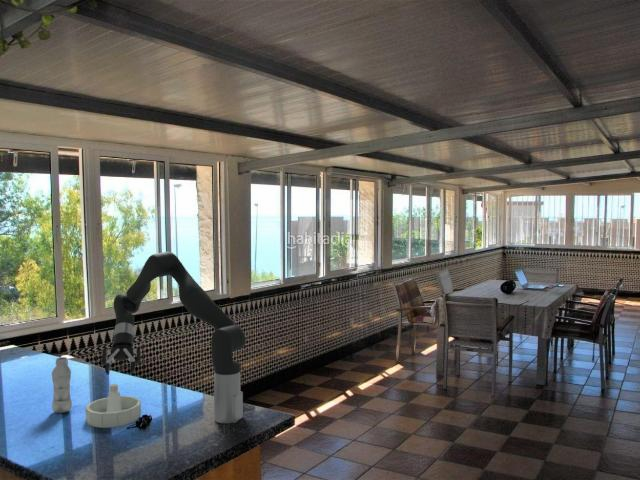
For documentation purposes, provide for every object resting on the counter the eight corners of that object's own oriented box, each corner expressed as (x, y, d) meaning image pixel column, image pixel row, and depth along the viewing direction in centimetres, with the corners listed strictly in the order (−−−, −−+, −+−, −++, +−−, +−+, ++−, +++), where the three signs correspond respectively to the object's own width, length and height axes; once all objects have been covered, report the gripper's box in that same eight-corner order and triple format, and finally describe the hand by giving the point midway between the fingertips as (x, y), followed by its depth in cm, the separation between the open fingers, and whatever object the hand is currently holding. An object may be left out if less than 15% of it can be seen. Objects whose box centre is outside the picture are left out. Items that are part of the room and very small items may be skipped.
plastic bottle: (64, 416, 193) (63, 361, 192) (47, 414, 195) (47, 360, 194) (75, 409, 199) (75, 356, 199) (59, 408, 201) (59, 355, 200)
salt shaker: (125, 413, 193) (125, 383, 192) (113, 418, 188) (113, 388, 188) (114, 411, 195) (114, 381, 195) (102, 416, 190) (102, 385, 190)
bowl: (150, 412, 197) (150, 399, 197) (118, 430, 180) (118, 416, 180) (109, 407, 203) (109, 394, 203) (74, 424, 186) (74, 410, 185)
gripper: (103, 332, 209) (98, 369, 198) (141, 330, 212) (138, 366, 202) (105, 342, 215) (101, 379, 204) (142, 341, 218) (140, 376, 207)
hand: (119, 373), depth 203 cm, fingers open, 8 cm apart
